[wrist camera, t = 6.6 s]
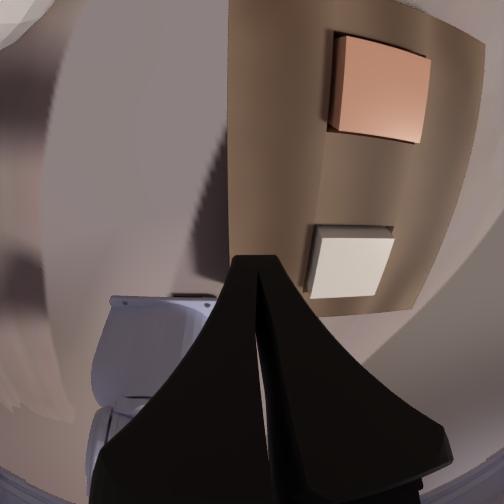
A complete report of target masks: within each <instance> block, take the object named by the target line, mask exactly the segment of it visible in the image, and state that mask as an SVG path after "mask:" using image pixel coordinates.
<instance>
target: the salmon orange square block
mask: <svg viewBox="0 0 504 504" xmlns="http://www.w3.org/2000/svg"><path fill="white" fill-rule="evenodd" d="M430 67H431V60H429V59H426V58H424V57H421V56H418V55H415V54H412V53H409V52H406V51H403V50H400V49H397V48H393V47H390V46H387V45H383V44H379V43H375V42H372V41H368V40H363V39H359V38H354V37H350V36H344V37H340V38H336V39H333V54H332V70H331V84H330V97H329V108H328V119H327V123H328V124H330V125H331V126H333V127H334V128H336V129H337V130H339V131H347V132H355V133H362V134H370V135H376V136H383V137H389V138H394V139H400V140H405V141H410V142H415V143H420V139H421V134H422V128H423V123H424V116H425V110H426V103H427V95H428V87H429V78H430Z"/></svg>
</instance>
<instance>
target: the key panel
mask: <svg viewBox="0 0 504 504" xmlns="http://www.w3.org/2000/svg"><path fill="white" fill-rule="evenodd" d="M344 36H350V37H354V38H359V39H363V40H368V41H372V42H375V43H379V44H383V45H387V46H390V47H393V48H397V49H400V50H403V51H406V52H409V53H412V54H415V55H418V56H421V57H424V58H426V59H429V60H431V67H430V78H429V87H428V95H427V103H426V110H425V116H424V123H423V128H422V134H421V139H420V143H415V142H410V141H405V140H400V139H394V138H389V137H383V136H376V135H370V134H362V133H355V132H347V131H339V130H337V129H336V128H334V127H333V126H331V125H330V124H328V123H327V119H328V108H329V97H330V84H331V70H332V54H333V39H336V38H340V37H344ZM484 63H485V44H484V43H482V42H481V41H479V40H477V39H476V38H474V37H472V36H470V35H469V34H467V33H465V32H463V31H461V30H460V29H458V28H456V27H454V26H452V25H450V24H448V23H446V22H444V21H442V20H440V19H437V18H435V17H433V16H431V15H428V14H426V13H424V12H421V11H419V10H417V9H414V8H412V7H409V6H406V5H404V4H401V3H398V2H395V1H392V0H229V19H228V79H227V80H228V81H227V84H228V85H227V86H228V87H227V88H228V89H227V153H228V218H229V256H230V266H231V261H232V258H233V257H234V256H235V255H276V256H277V257H278V258H279V259H280V261H281V263H282V265H283V267H284V269H285V270H286V272H287V274H288V275H289V277H290V279H291V280H292V282H293V283H294V285H295V286H296V288H297V290H298V291H299V292H300V294H301V295H302V297H303V298H304V300H305V301H306V302H307V304H308V305H309V307H310V308H311V309H312V311H313V312H314V313H315V315H316V316H317V317H332V316H346V315H359V314H370V313H381V312H391V311H400V310H409V309H412V307H413V305H414V304H415V302H416V300H417V298H418V296H419V294H420V292H421V290H422V288H423V285H424V283H425V281H426V279H427V277H428V275H429V273H430V270H431V268H432V266H433V264H434V261H435V259H436V257H437V254H438V252H439V250H440V247H441V245H442V242H443V240H444V237H445V235H446V232H447V229H448V227H449V224H450V221H451V218H452V216H453V213H454V210H455V207H456V204H457V201H458V198H459V195H460V191H461V188H462V185H463V181H464V178H465V174H466V170H467V167H468V163H469V159H470V155H471V150H472V146H473V142H474V137H475V132H476V127H477V121H478V115H479V109H480V102H481V95H482V86H483V76H484ZM314 224H331V225H374V226H386V227H387V229H388V230H389V231H390V233H391V234H392V235H393V237H394V238H395V240H394V243H393V246H392V249H391V252H390V255H389V258H388V260H387V263H386V266H385V269H384V272H383V274H382V277H381V280H380V282H379V285H378V287H377V290H376V292H375V295H371V296H356V297H338V298H316V299H310V296H309V292H308V289H307V285H306V281H305V276H306V270H307V264H308V259H309V253H310V247H311V241H312V235H313V228H314Z"/></svg>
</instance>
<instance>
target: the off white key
mask: <svg viewBox="0 0 504 504" xmlns="http://www.w3.org/2000/svg"><path fill="white" fill-rule="evenodd" d="M394 240H395V238H394V237H393V235H392V234H391V233H390V231H389V230H388V229H387V227H386V226H374V225H331V224H314V228H313V235H312V241H311V247H310V253H309V259H308V264H307V270H306V276H305V281H306V285H307V289H308V292H309V296H310V299H316V298H338V297H356V296H371V295H375V292H376V290H377V287H378V285H379V282H380V280H381V277H382V274H383V272H384V269H385V266H386V263H387V260H388V258H389V255H390V252H391V249H392V246H393V243H394Z"/></svg>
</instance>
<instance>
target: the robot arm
mask: <svg viewBox="0 0 504 504" xmlns="http://www.w3.org/2000/svg"><path fill="white" fill-rule="evenodd" d="M109 301H110V304H111V306H112V308H111V310H110V313H109V316H108V319H107V321H106V324H105V326H104V329H103V332H102V335H101V338H100V340H99V343H98V346H97V349H96V353H95V355H94V359H93V363H92V370H91V384H92V390H93V394H94V396H95V399H96V401H97V403H98V404H99V405H100V406H101V407H102V408H100V409H99V410H97V411H96V413H95V416H94V418H93V422H92V426H91V430H90V434H89V440H88V446H87V452H86V467H85V471H86V476H87V496H88V497H89V504H504V447H503V448H502V449H500V450H499V451H497V452H496V453H494V454H493V455H491V456H490V457H488V458H487V459H486V461H485V462H483V463H481V464H480V465H478V466H477V467H475V468H473V469H471V470H470V471H468V472H466V473H464V474H463V475H461V476H459V477H457V478H455V479H453V480H451V481H450V482H448V483H445V484H443V485H441V486H439V487H437V488H435V489H433V490H431V491H429V492H426V493H424V494H422V495H419V492H418V491H419V490H421V489H423V482H422V477H424V476H427V475H429V474H431V473H433V472H436V471H438V470H440V469H442V468H444V467H446V466H448V465H450V464H451V463H452V462H453V455H452V451H451V448H450V444H449V441H448V438H447V435H446V433H445V430H444V428H443V426H441V425H440V424H438V423H437V422H435V421H433V420H432V419H430V418H428V417H427V416H425V415H424V414H422V413H421V412H419V411H418V410H416V409H414V408H413V407H411V406H410V405H409V404H407V403H406V402H404V401H403V400H402V399H401V398H399V397H398V396H397V395H395V394H394V393H393V392H391V391H390V390H389V389H388V388H387V387H386V386H384V385H383V384H382V383H381V382H380V381H378V380H377V379H376V378H375V377H374V376H373V375H372V374H370V373H369V372H368V371H367V370H366V369H365V368H363V366H361V365H360V364H359V363H358V362H357V361H356V360H355V359H354V358H353V357H352V356H351V355H350V354H349V353H348V352H347V351H346V350H345V348H344V347H343V346H342V345H341V344H340V343H339V342H338V341H337V340H336V339H335V338H334V336H333V335H332V334H331V333H330V332H329V331H328V329H327V328H326V327H325V326H324V325H323V323H322V322H321V321H320V320H319V318H318V317H317V316H316V315H315V313H314V312H313V311H312V309H311V308H310V307H309V305H308V304H307V302H306V301H305V300H304V298H303V297H302V295H301V294H300V292H299V291H298V290H297V288H296V286H295V285H294V283H293V282H292V280H291V279H290V277H289V275H288V274H287V272H286V270H285V269H284V267H283V265H282V263H281V261H280V259H279V258H278V257H277V256H276V255H235V256H234V257H233V258H232V261H231V266H230V269H229V273H228V275H227V278H226V281H225V283H224V286H223V288H222V290H221V293H220V295H219V297H218V299H217V298H181V297H138V296H111V298H110V300H109ZM125 301H126V302H125ZM206 303H209V304H206ZM255 333H256V336H255ZM256 340H257V346H258V353H259V359H260V365H261V371H262V378H263V384H264V391H265V399H266V415H267V433H268V452H267V445H266V436H265V427H264V418H263V409H262V400H261V390H260V380H259V370H258V359H257V348H256ZM268 453H269V454H268ZM268 455H269V460H268ZM0 504H75V503H71V502H69V501H67V500H64V499H62V498H59V497H57V496H55V495H52V494H50V493H48V492H45V491H43V490H41V489H39V488H37V487H35V486H33V485H31V484H29V483H27V482H26V480H25V479H23V478H21V477H19V476H17V475H15V474H14V473H12V472H10V471H8V470H6V469H5V468H3V467H1V466H0Z"/></svg>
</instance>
